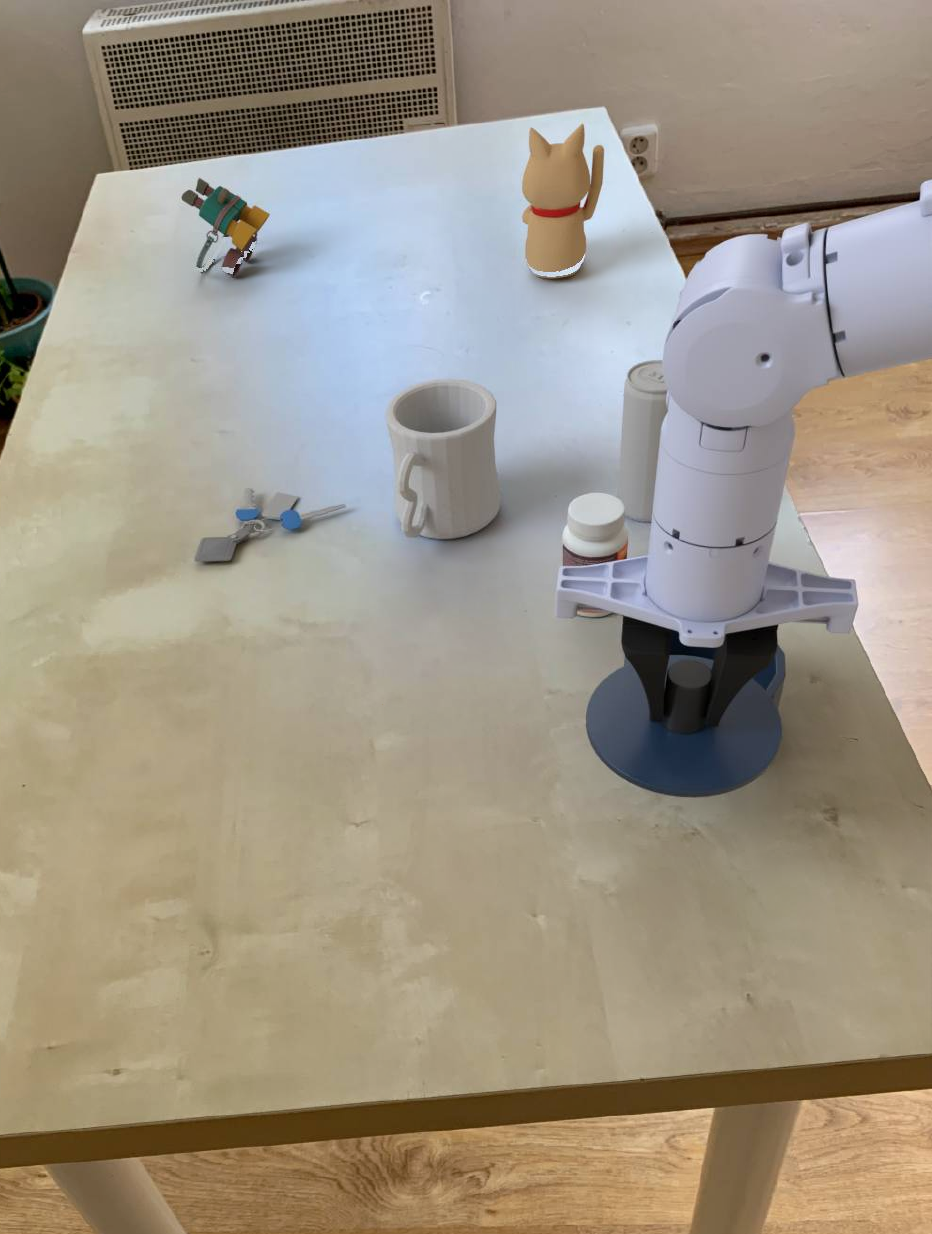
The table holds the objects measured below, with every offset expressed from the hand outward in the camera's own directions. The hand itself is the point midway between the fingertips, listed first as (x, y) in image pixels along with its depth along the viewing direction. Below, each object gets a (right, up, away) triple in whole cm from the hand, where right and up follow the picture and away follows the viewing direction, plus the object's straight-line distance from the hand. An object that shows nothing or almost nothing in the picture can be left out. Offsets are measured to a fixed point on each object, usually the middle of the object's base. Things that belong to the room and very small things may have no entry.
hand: (683, 711), depth 62 cm
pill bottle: (0, +9, +23) cm, 24 cm away
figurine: (+4, +52, +61) cm, 81 cm away
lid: (0, -1, +1) cm, 1 cm away
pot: (+5, 0, +13) cm, 14 cm away
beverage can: (+5, +18, +30) cm, 35 cm away
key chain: (-28, +18, +35) cm, 48 cm away
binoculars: (-34, +56, +71) cm, 97 cm away
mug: (-12, +17, +31) cm, 38 cm away
